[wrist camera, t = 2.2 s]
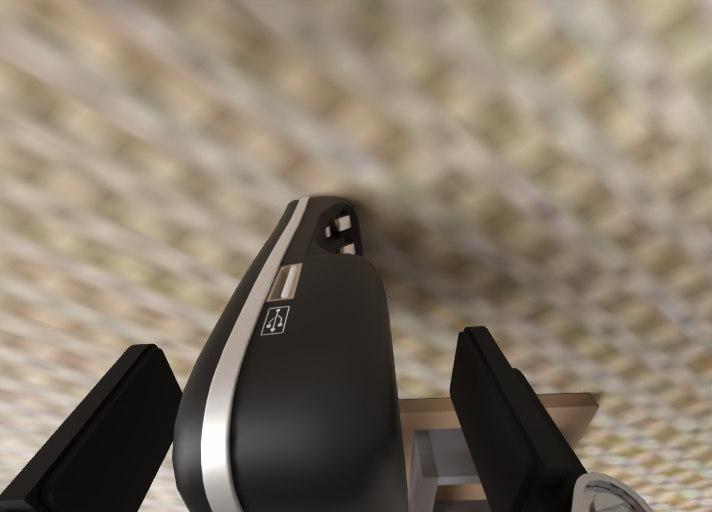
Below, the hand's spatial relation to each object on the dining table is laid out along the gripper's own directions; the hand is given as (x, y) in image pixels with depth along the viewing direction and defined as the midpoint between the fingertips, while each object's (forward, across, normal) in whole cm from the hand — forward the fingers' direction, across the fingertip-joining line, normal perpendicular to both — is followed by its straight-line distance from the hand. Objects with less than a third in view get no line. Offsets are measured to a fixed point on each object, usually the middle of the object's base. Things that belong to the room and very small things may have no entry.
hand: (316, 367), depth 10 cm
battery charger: (+7, -1, -1) cm, 7 cm away
